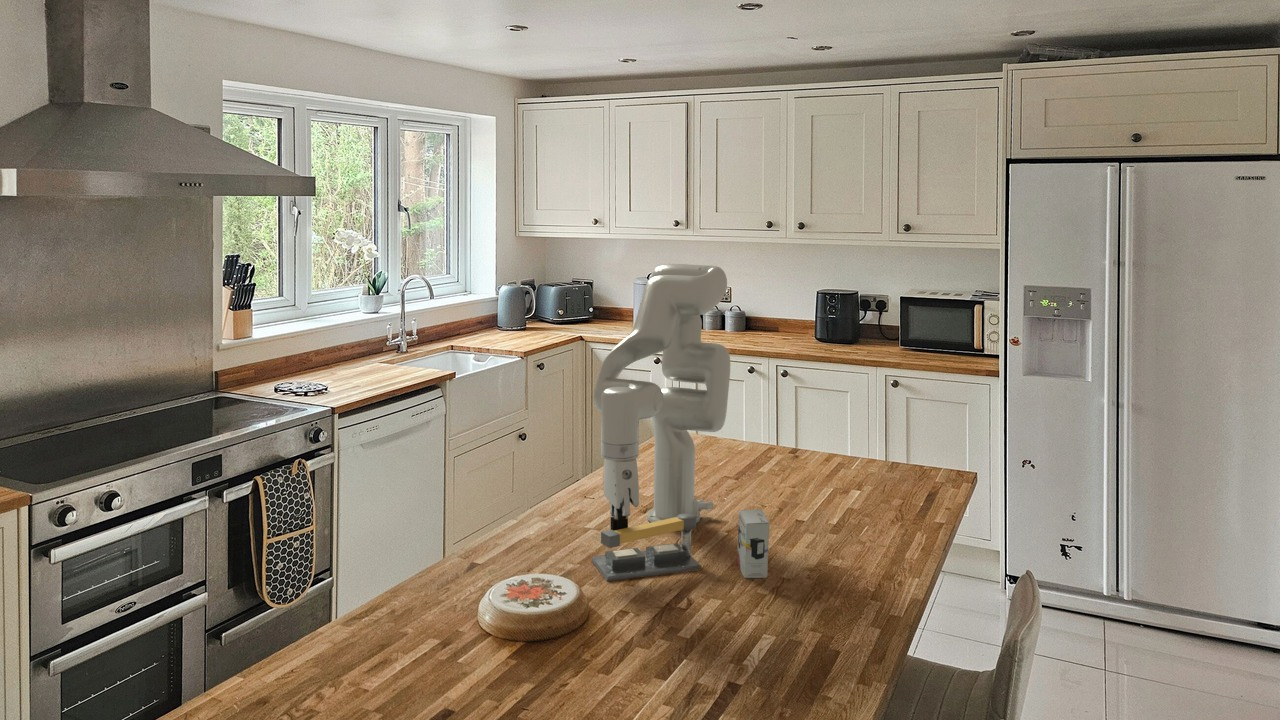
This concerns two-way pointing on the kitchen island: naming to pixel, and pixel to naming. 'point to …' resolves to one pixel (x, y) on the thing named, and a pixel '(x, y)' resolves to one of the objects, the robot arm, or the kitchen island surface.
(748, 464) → the kitchen island surface
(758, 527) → the ink box
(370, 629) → the kitchen island surface
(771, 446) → the kitchen island surface
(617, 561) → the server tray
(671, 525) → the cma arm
